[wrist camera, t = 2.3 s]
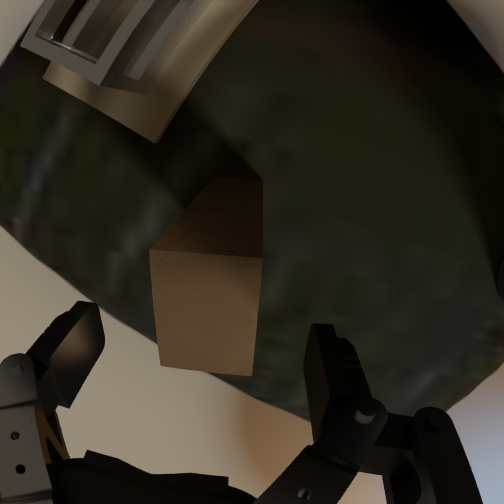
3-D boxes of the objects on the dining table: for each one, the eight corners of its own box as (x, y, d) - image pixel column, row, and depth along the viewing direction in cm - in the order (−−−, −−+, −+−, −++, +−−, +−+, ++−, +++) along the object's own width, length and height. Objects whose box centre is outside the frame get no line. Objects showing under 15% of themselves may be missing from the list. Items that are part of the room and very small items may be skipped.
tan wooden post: (263, 180, 26) (262, 258, 11) (258, 245, 28) (251, 378, 13) (214, 177, 26) (149, 249, 11) (212, 241, 28) (161, 368, 13)
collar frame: (214, -2, 19) (195, -47, 12) (146, 95, 22) (99, 85, 15) (137, -31, 17) (99, -70, 10) (76, 58, 21) (19, 45, 13)
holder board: (265, -8, 19) (265, -13, 18) (158, 142, 25) (154, 143, 24) (139, -56, 17) (136, -60, 16) (48, 79, 22) (42, 78, 21)
